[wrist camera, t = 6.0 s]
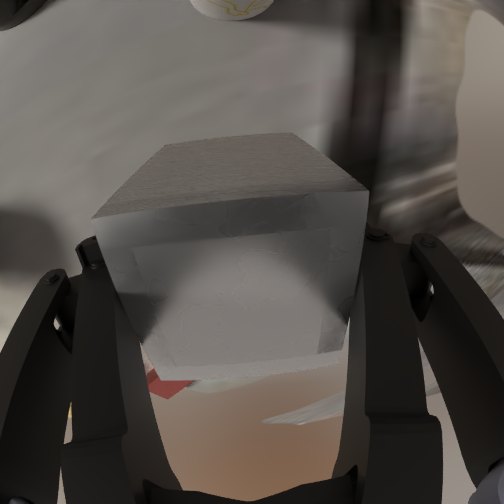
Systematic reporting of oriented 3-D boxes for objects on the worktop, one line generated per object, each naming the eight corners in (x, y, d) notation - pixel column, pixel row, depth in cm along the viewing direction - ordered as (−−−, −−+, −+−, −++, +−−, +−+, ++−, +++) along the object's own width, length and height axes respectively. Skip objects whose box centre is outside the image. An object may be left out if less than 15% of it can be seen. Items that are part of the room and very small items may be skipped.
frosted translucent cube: (165, 145, 14) (90, 219, 6) (292, 132, 14) (369, 191, 6) (185, 252, 17) (160, 380, 9) (293, 242, 17) (337, 364, 10)
